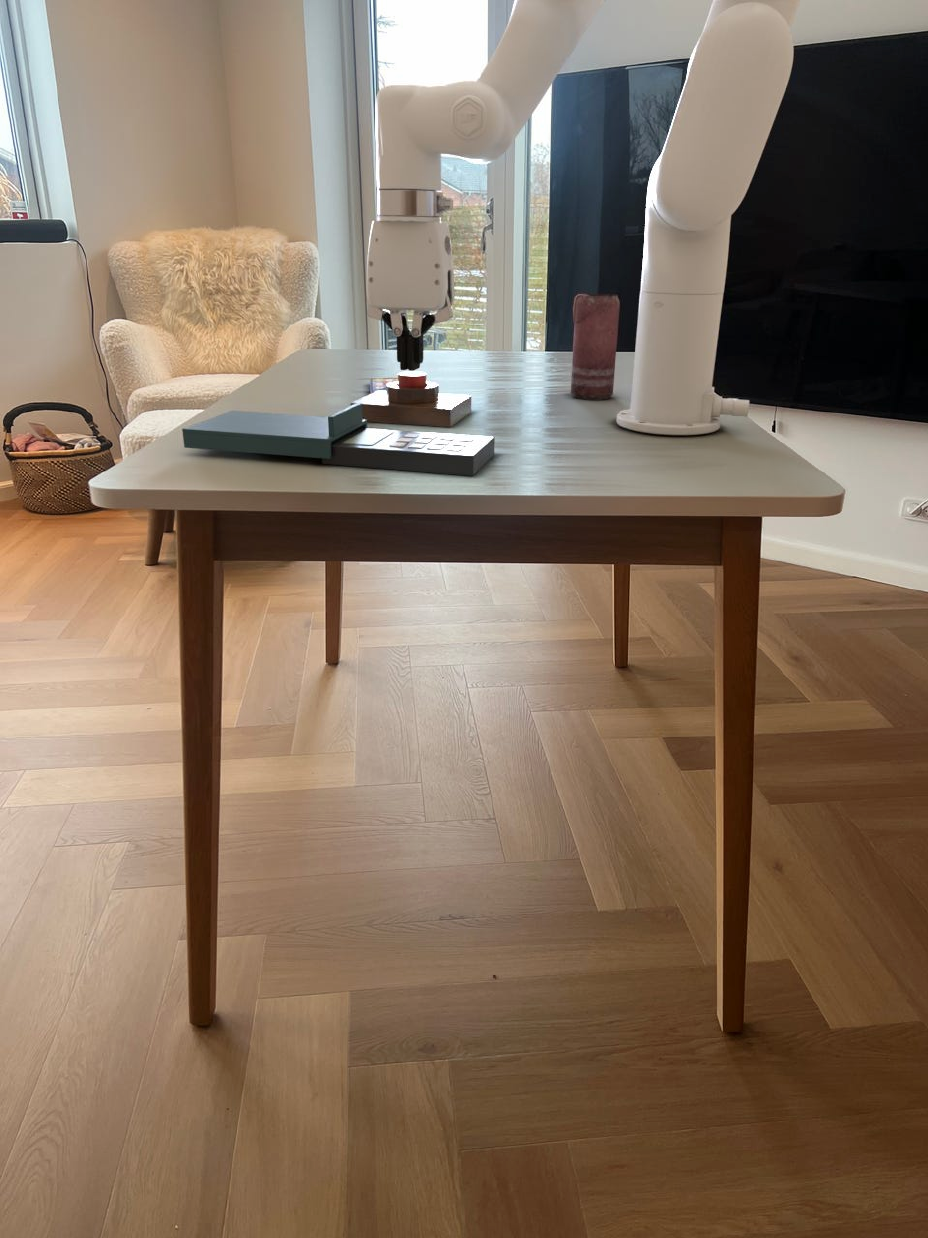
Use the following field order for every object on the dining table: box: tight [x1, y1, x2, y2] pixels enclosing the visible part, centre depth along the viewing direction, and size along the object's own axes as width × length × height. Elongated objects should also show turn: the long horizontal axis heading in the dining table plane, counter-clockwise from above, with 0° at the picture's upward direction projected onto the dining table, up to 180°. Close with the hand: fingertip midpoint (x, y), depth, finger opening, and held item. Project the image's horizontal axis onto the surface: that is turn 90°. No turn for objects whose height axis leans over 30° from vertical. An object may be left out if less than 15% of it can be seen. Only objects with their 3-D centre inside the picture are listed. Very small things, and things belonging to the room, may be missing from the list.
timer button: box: [397, 371, 427, 388], centre depth 110 cm, size 4×4×2 cm
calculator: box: [321, 427, 496, 477], centre depth 91 cm, size 16×9×2 cm, turn 75°
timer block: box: [350, 380, 472, 428], centre depth 111 cm, size 13×10×4 cm
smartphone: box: [369, 377, 398, 394], centre depth 128 cm, size 1×7×15 cm
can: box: [570, 293, 621, 401], centre depth 124 cm, size 6×6×14 cm
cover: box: [181, 403, 368, 459], centre depth 94 cm, size 17×10×4 cm, turn 75°
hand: (410, 368), depth 110 cm, fingers closed
